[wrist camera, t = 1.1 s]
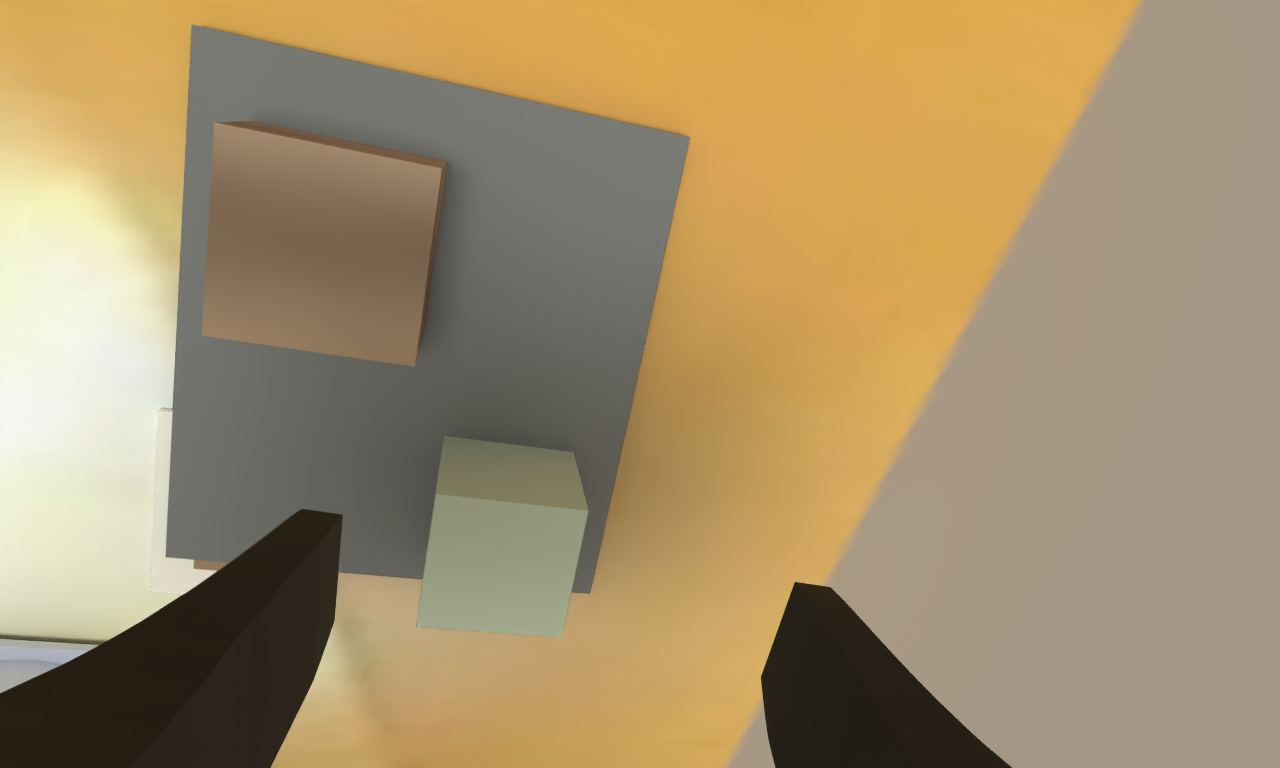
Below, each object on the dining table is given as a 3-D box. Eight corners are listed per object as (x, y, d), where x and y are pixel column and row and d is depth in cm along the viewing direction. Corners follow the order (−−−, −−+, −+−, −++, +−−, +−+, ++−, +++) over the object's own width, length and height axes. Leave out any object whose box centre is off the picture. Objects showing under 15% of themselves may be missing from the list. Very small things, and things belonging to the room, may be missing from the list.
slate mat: (587, 584, 28) (589, 593, 27) (172, 547, 25) (165, 557, 24) (685, 136, 24) (689, 137, 23) (199, 26, 21) (191, 24, 20)
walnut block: (423, 336, 23) (414, 366, 21) (237, 307, 22) (201, 335, 19) (447, 161, 22) (441, 168, 19) (251, 121, 21) (214, 122, 18)
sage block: (551, 563, 27) (561, 637, 23) (426, 551, 26) (416, 627, 22) (573, 452, 25) (588, 510, 22) (444, 435, 24) (436, 493, 21)
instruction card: (289, 598, 26) (287, 604, 26) (152, 588, 25) (149, 593, 25) (307, 426, 24) (304, 429, 24) (161, 408, 23) (156, 411, 23)
